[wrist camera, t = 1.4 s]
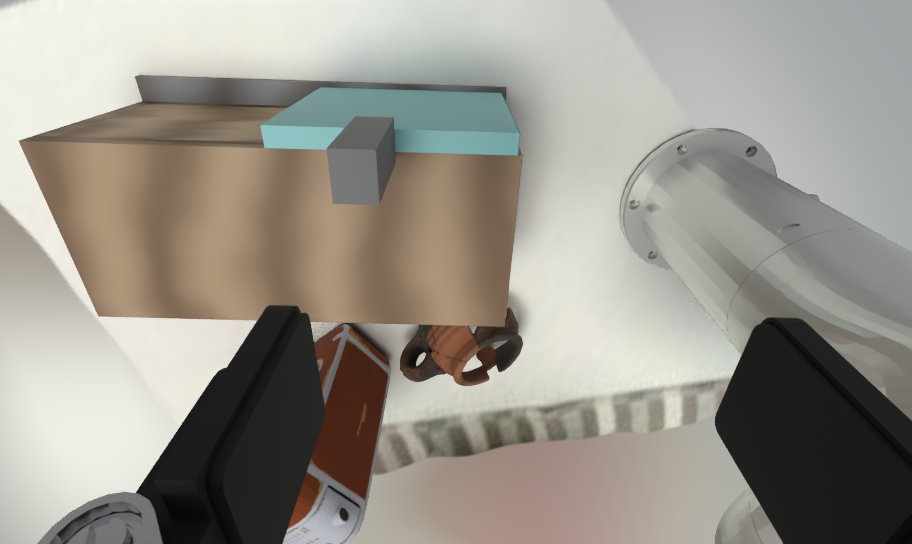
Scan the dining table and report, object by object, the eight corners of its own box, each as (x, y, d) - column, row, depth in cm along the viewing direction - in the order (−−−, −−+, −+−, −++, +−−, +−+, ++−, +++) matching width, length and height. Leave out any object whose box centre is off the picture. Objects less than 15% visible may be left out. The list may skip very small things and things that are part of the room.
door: (501, 84, 34) (538, 154, 19) (499, 117, 35) (531, 209, 20) (319, 78, 34) (201, 144, 18) (323, 112, 35) (216, 200, 20)
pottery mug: (469, 251, 43) (514, 314, 38) (501, 295, 51) (542, 352, 45) (367, 325, 44) (398, 396, 39) (413, 357, 51) (444, 421, 46)
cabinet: (505, 87, 35) (525, 122, 25) (493, 246, 42) (504, 326, 32) (138, 75, 35) (3, 107, 24) (187, 238, 42) (98, 316, 32)
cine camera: (222, 394, 52) (105, 589, 35) (342, 306, 46) (272, 491, 28) (284, 437, 56) (207, 633, 38) (404, 361, 49) (375, 555, 32)
